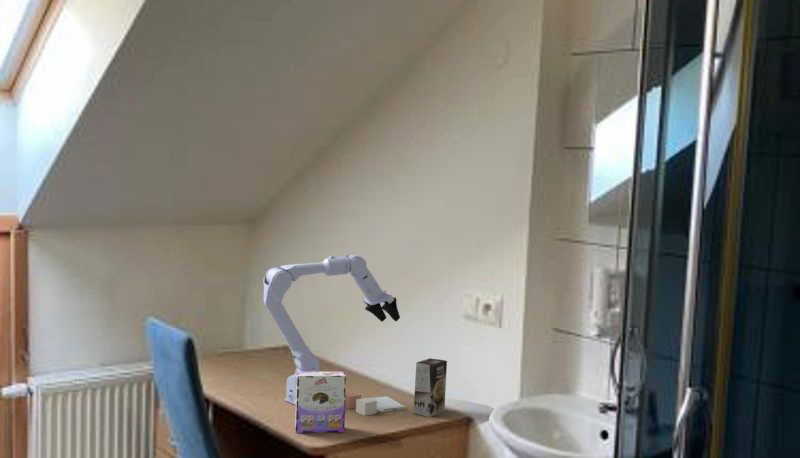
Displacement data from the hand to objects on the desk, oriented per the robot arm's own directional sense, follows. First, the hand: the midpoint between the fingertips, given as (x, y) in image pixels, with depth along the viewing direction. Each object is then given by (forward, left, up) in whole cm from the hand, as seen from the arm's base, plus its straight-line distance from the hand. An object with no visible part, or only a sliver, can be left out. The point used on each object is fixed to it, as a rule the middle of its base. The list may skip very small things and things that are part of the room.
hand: (390, 319), depth 278 cm
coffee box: (-1, -22, -26) cm, 34 cm away
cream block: (-18, -12, -26) cm, 33 cm away
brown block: (-18, -4, -26) cm, 31 cm away
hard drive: (-8, -9, -26) cm, 29 cm away
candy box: (-40, -19, -26) cm, 51 cm away
